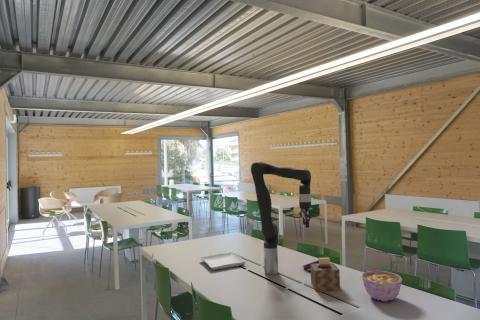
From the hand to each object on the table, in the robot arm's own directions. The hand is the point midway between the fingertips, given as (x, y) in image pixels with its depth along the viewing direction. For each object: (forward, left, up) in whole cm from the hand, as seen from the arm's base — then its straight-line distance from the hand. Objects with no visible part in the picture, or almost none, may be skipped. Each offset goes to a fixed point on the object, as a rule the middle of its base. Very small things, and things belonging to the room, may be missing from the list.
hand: (305, 226), depth 213 cm
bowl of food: (+33, -34, -33) cm, 58 cm away
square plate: (-56, +35, -34) cm, 74 cm away
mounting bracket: (+8, +13, -34) cm, 37 cm away
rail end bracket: (+7, -16, -26) cm, 31 cm away
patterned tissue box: (+7, -16, -33) cm, 37 cm away
